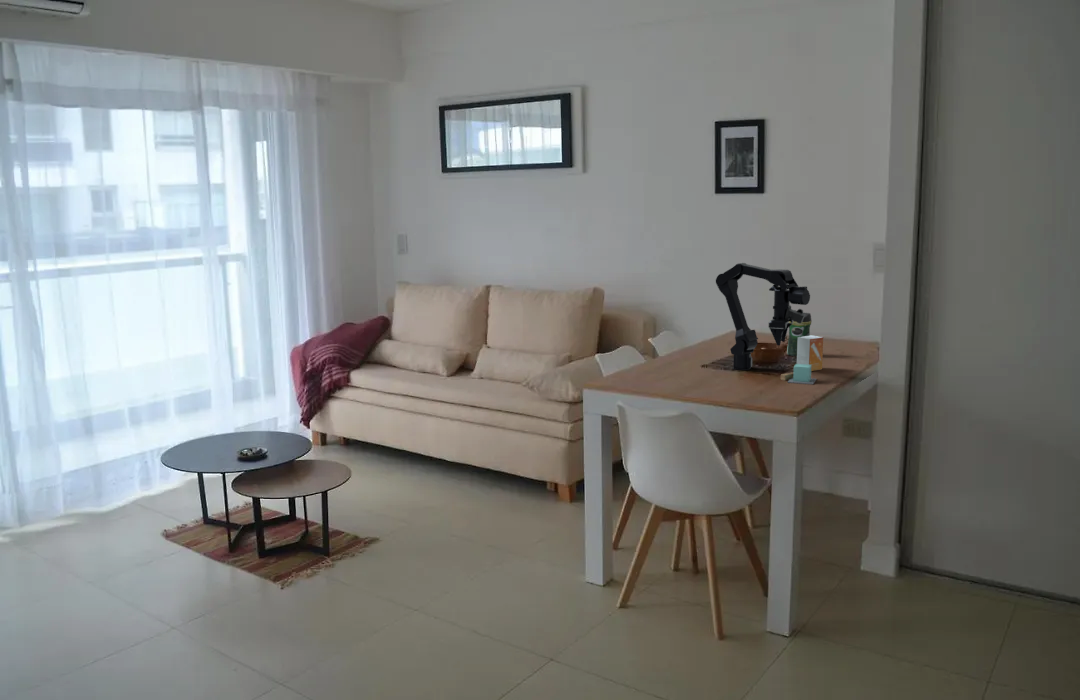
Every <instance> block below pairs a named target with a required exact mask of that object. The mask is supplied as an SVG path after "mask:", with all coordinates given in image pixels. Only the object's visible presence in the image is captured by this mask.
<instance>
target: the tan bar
mask: <svg viewBox="0 0 1080 700" xmlns="http://www.w3.org/2000/svg"><path fill="white" fill-rule="evenodd" d="M793 372H794V371H793ZM793 372H792V371H791V372H788V373H782V374H780V380H781V381H785V382H786V381H789V380H790V379H791V378H793Z"/></svg>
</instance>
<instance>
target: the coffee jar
mask: <svg viewBox="0 0 1080 700" xmlns="http://www.w3.org/2000/svg"><path fill="white" fill-rule="evenodd" d="M803 314H805V317H804V319H803V321H802V323H797V322H796V321H794V322H793V324H792V325H791V326H789V327H788V341H787V349H786V350H787V351H786V354H787V355H788V356H789V357H790V356H791V357H797V341H798V337H803V336H810V335H811V332H810V328H811V325H812V315H811V313H810V312H803ZM789 323H791V322H789Z"/></svg>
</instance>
